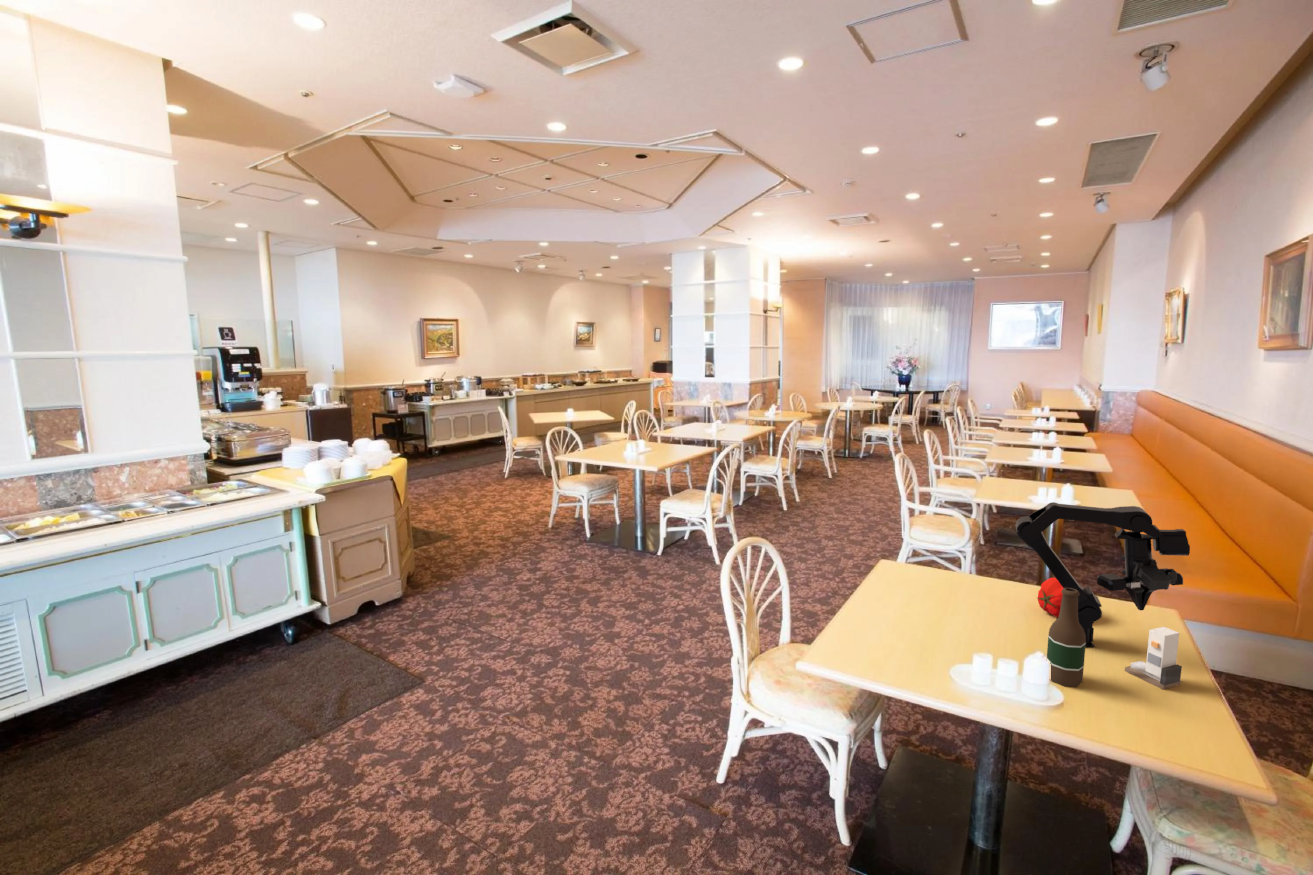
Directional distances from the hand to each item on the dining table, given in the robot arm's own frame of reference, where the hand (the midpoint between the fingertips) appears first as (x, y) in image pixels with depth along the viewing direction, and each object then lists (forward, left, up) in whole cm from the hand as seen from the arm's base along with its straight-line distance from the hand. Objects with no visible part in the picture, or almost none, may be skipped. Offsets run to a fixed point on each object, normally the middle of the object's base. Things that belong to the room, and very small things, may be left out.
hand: (1140, 609), depth 164 cm
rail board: (-5, -13, -12) cm, 19 cm away
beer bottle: (-27, -14, -13) cm, 33 cm away
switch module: (-5, -15, -10) cm, 18 cm away
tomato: (-6, +24, -13) cm, 28 cm away
